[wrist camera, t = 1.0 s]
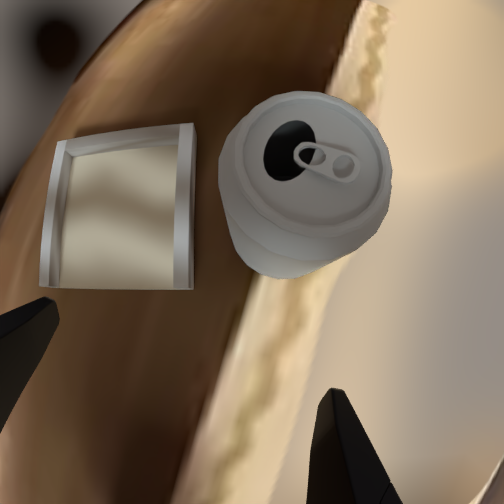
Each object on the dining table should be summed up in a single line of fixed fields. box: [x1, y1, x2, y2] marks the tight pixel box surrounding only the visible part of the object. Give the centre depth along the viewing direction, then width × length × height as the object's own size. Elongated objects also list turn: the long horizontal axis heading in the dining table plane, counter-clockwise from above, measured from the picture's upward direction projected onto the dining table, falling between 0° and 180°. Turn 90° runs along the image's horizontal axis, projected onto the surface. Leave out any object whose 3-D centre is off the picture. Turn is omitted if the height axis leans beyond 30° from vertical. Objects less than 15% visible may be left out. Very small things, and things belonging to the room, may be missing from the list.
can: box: [218, 91, 392, 279], centre depth 17 cm, size 8×8×12 cm
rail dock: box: [39, 123, 197, 290], centre depth 22 cm, size 12×12×2 cm
